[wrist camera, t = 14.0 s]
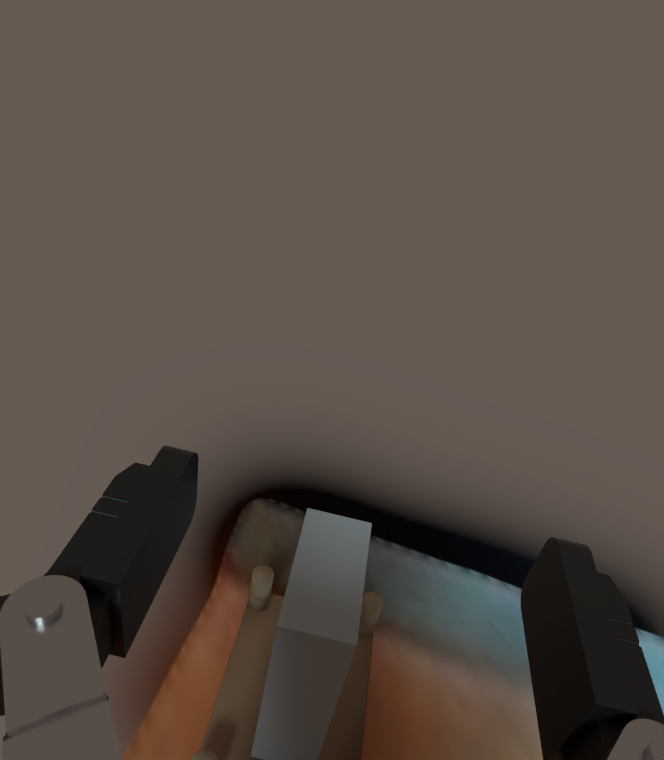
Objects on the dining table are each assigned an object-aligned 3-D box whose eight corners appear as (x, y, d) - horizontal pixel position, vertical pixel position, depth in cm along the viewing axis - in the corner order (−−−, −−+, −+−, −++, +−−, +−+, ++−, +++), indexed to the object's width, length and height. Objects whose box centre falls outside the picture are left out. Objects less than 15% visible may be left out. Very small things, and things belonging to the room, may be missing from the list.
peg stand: (369, 633, 45) (384, 591, 42) (345, 865, 33) (364, 828, 30) (249, 604, 46) (256, 560, 43) (180, 822, 33) (182, 782, 30)
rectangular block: (332, 652, 41) (371, 523, 34) (313, 772, 35) (356, 645, 27) (280, 639, 42) (307, 507, 34) (250, 756, 35) (276, 625, 27)
